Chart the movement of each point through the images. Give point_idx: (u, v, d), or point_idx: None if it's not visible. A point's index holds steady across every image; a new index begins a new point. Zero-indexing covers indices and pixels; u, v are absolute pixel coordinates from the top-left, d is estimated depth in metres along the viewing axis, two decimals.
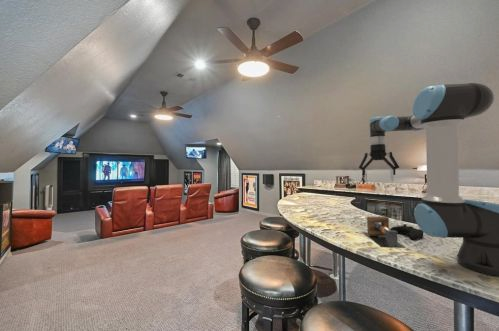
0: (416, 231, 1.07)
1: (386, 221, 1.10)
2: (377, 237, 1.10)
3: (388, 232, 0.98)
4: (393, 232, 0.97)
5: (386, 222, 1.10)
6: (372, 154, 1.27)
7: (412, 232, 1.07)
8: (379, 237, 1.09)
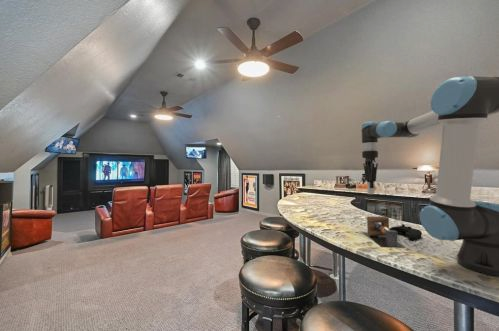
0: (414, 231, 1.07)
1: (386, 221, 1.10)
2: (377, 237, 1.10)
3: (388, 232, 0.98)
4: (393, 232, 0.97)
5: (386, 222, 1.10)
6: (365, 161, 1.22)
7: (410, 232, 1.07)
8: (379, 237, 1.09)
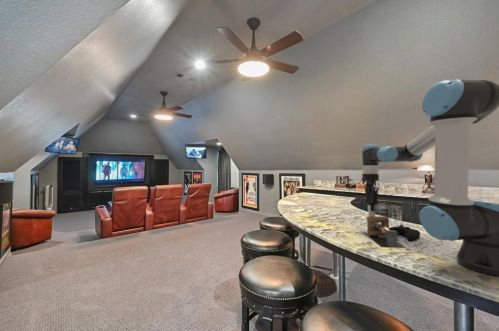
0: (413, 231, 1.07)
1: (386, 221, 1.10)
2: (377, 237, 1.10)
3: (388, 232, 0.98)
4: (393, 232, 0.97)
5: (386, 222, 1.10)
6: (366, 183, 1.22)
7: (409, 232, 1.06)
8: (379, 237, 1.09)
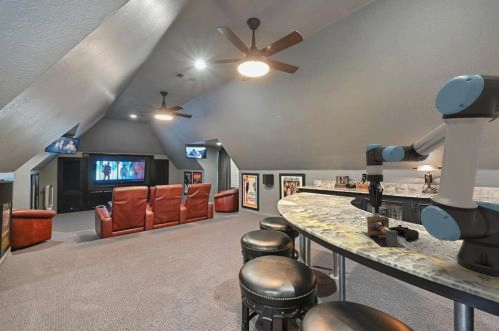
0: (411, 232, 1.07)
1: (386, 221, 1.10)
2: (377, 237, 1.10)
3: (388, 232, 0.98)
4: (393, 232, 0.97)
5: (386, 222, 1.10)
6: (370, 184, 1.17)
7: (408, 233, 1.06)
8: (379, 237, 1.09)
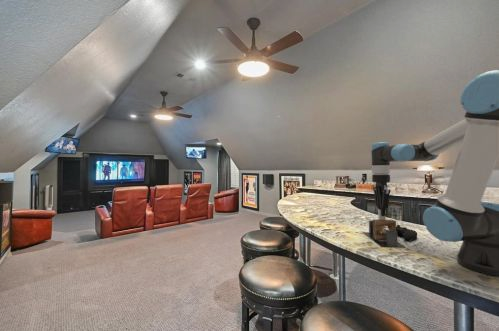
0: (410, 232, 1.06)
1: (393, 225, 1.03)
2: None
3: (388, 232, 0.98)
4: (393, 232, 0.97)
5: (393, 226, 1.03)
6: (376, 185, 1.10)
7: (406, 233, 1.06)
8: None
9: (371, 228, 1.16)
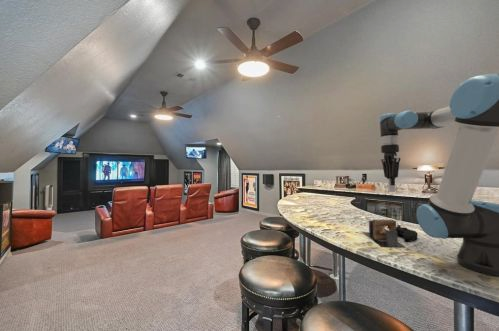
0: (410, 232, 1.06)
1: (393, 225, 1.03)
2: None
3: (388, 232, 0.98)
4: (393, 232, 0.97)
5: (393, 226, 1.03)
6: (384, 156, 1.13)
7: (406, 233, 1.05)
8: None
9: (371, 228, 1.16)
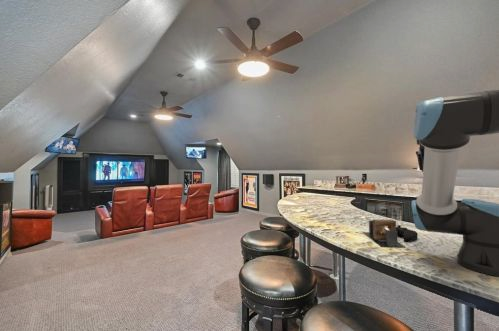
0: (410, 232, 1.06)
1: (393, 225, 1.03)
2: None
3: (388, 232, 0.98)
4: (393, 232, 0.97)
5: (393, 226, 1.03)
6: (420, 148, 1.06)
7: (406, 233, 1.05)
8: None
9: (371, 228, 1.16)
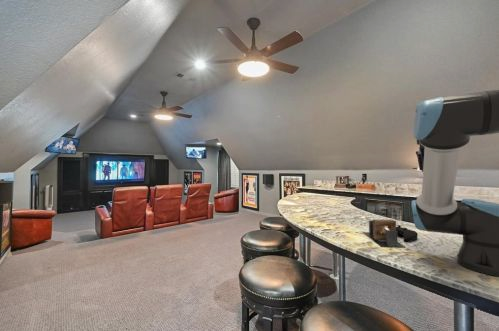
0: (410, 232, 1.06)
1: (393, 225, 1.03)
2: None
3: (388, 232, 0.98)
4: (393, 232, 0.97)
5: (393, 226, 1.03)
6: (420, 148, 1.06)
7: (406, 233, 1.05)
8: None
9: (371, 228, 1.16)
